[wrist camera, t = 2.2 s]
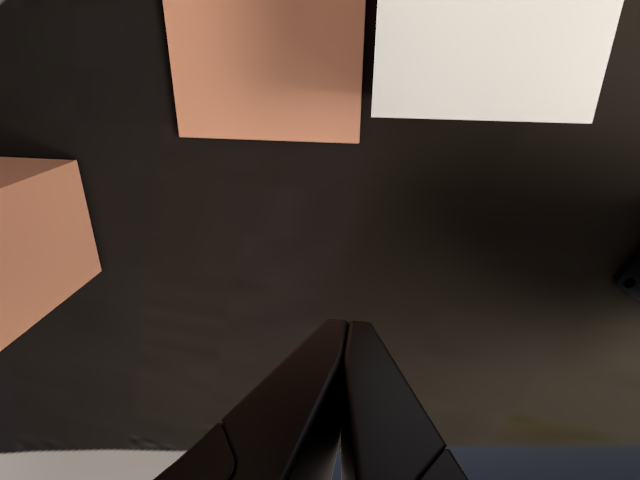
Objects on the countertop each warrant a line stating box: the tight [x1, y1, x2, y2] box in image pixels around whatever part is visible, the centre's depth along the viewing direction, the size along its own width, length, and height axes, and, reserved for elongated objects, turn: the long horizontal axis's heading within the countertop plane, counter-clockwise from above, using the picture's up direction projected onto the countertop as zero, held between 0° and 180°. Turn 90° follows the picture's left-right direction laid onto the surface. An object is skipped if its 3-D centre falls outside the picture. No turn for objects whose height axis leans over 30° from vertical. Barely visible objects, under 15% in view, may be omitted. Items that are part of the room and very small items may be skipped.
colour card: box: [162, 0, 366, 144], centre depth 18 cm, size 8×6×1 cm
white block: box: [371, 0, 624, 124], centre depth 14 cm, size 6×6×6 cm
